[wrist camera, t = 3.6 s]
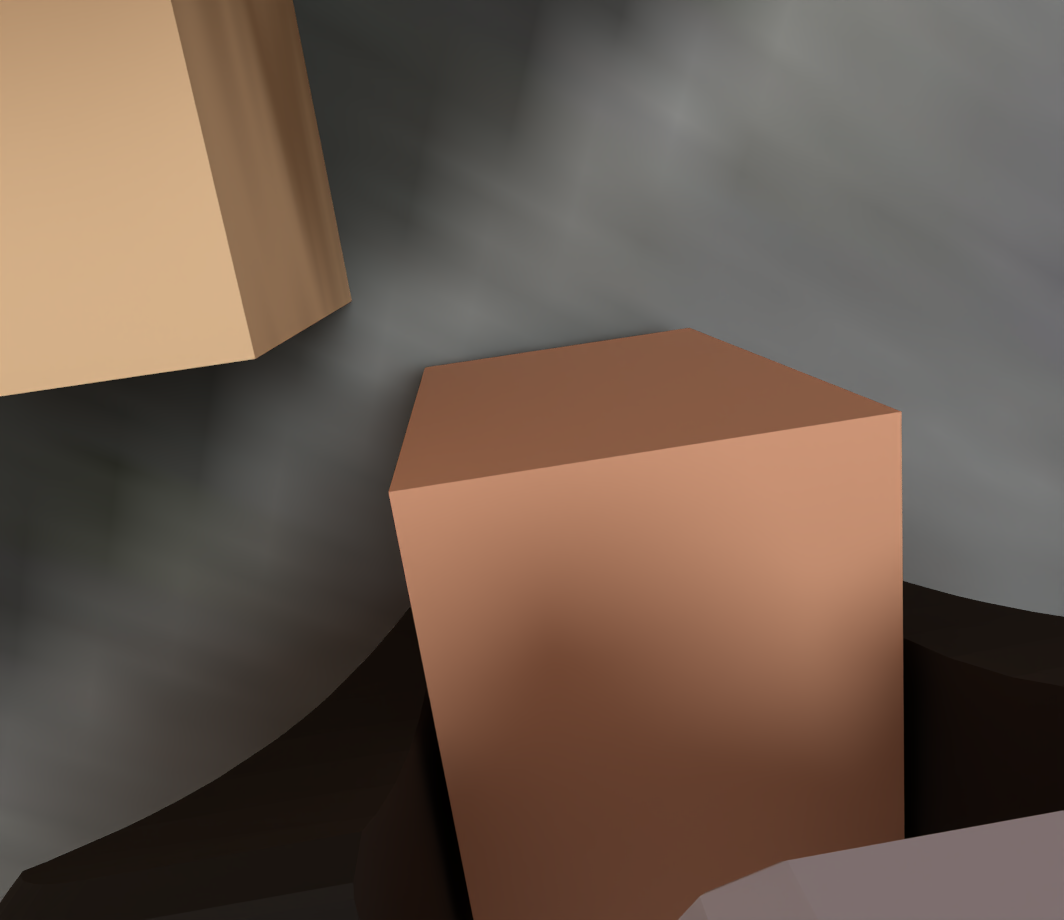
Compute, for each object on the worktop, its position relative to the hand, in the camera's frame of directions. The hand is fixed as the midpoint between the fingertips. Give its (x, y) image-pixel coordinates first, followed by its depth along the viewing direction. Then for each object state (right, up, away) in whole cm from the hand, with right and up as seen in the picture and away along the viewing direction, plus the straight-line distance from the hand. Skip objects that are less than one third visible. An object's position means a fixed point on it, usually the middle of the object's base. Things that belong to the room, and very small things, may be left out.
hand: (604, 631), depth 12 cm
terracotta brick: (0, 0, +1) cm, 1 cm away
